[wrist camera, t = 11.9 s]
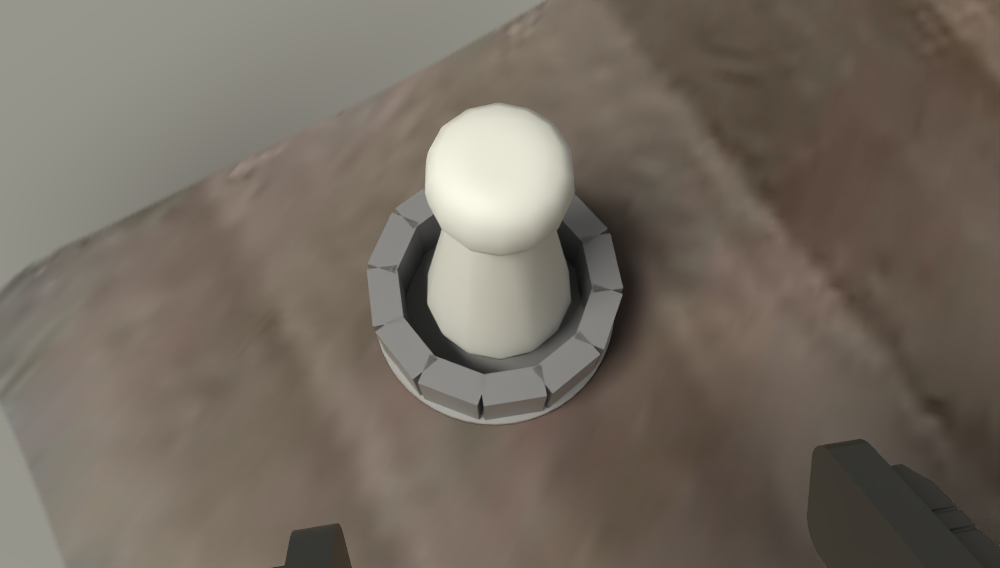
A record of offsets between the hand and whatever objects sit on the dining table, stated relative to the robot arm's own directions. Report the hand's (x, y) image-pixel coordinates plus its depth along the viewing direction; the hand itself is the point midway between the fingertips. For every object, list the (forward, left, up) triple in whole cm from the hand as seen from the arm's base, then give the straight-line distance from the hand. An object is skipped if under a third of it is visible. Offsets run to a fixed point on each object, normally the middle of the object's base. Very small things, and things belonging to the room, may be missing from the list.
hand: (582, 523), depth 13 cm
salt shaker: (0, -10, -18) cm, 21 cm away
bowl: (0, -10, -18) cm, 21 cm away
